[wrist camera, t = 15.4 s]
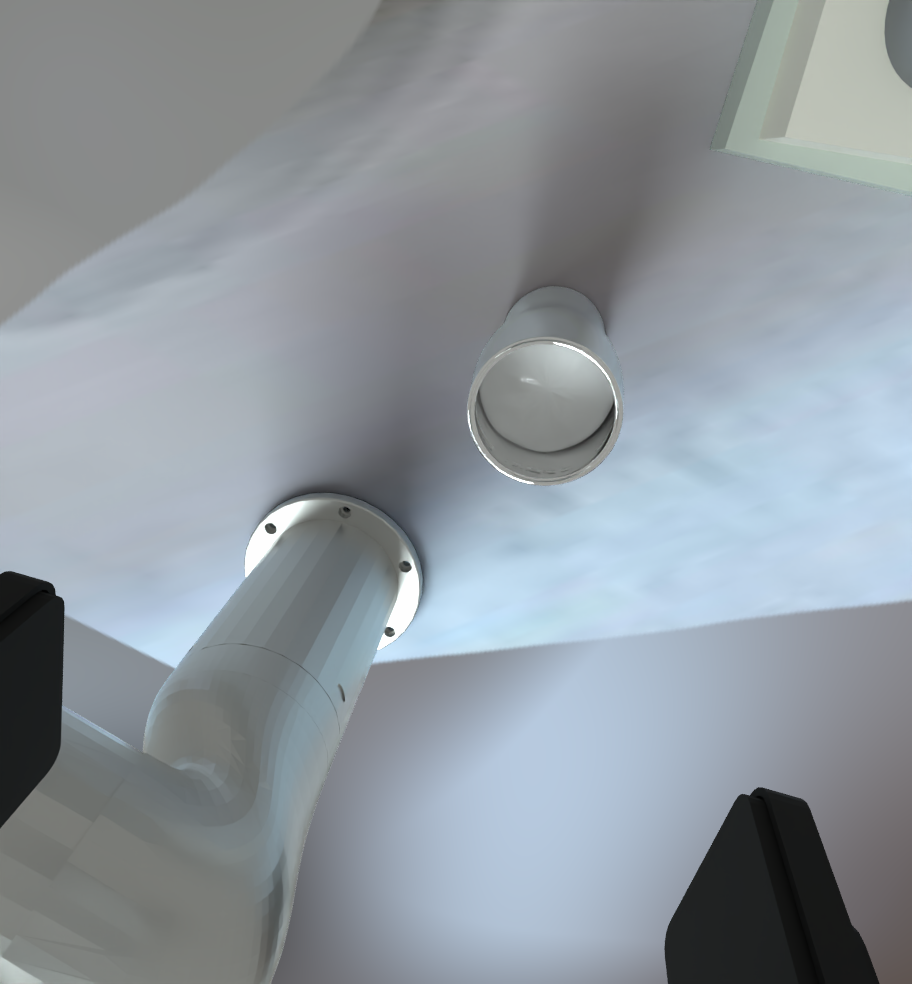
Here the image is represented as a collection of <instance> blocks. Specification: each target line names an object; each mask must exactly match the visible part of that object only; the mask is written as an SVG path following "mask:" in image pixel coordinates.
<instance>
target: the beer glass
mask: <svg viewBox="0 0 912 984" xmlns="http://www.w3.org/2000/svg"><path fill="white" fill-rule="evenodd" d="M623 401H624V384H623V375H622V369H621V365H620V362H619V359H618V356H617V354H616V351H615V349H614V347H613V345H612V343H611V341H610V340H609V338H608V337H607V336H606V334H605V328H604V323H603V320H602V317H601V315H600V313H599V311H598V310H597V308H596V307H595V305H594V304H593V303H592V302H591V301H590V300H589V299H588V298H587V297H585V296H584V295H583V294H581V293H579V292H577V291H575V290H573V289H570V288H566V287H560V286H549V287H543V288H539V289H536V290H534V291H532V292H530V293H528V294H526V295H525V296H523V297H522V298H521V299H520V300H519V301H517V302H516V303H515V305H514V306H513V307H512V308H511V310H510V311H509V313H508V315H507V317H506V319H505V322H504V324H503V325H502V326H501V327H500V328H499V329H498V330H497V331H496V332H495V333H494V334H493V335H492V337H491V338H490V339H489V341H488V342H487V344H486V346H485V347H484V349H483V350H482V352H481V354H480V356H479V359H478V361H477V364H476V367H475V370H474V373H473V377H472V382H471V388H470V392H469V396H468V401H467V420H468V426H469V430H470V433H471V436H472V439H473V441H474V443H475V445H476V447H477V449H478V450H479V452H480V453H481V455H482V456H483V457H484V458H485V459H486V461H487V462H488V463H489V464H490V465H492V466H493V467H494V468H495V469H496V470H498V471H499V472H501V473H502V474H504V475H506V476H507V477H509V478H512V479H514V480H516V481H519V482H522V483H526V484H531V485H540V486H551V485H559V484H564V483H568V482H571V481H574V480H576V479H579V478H581V477H583V476H585V475H586V474H588V473H589V472H591V471H592V470H594V469H595V468H596V467H597V466H599V465H600V464H601V463H602V462H603V461H604V460H605V458H606V457H607V456H608V455H609V453H610V452H611V451H612V449H613V447H614V446H615V444H616V442H617V439H618V437H619V434H620V431H621V428H622V423H623Z"/></svg>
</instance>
